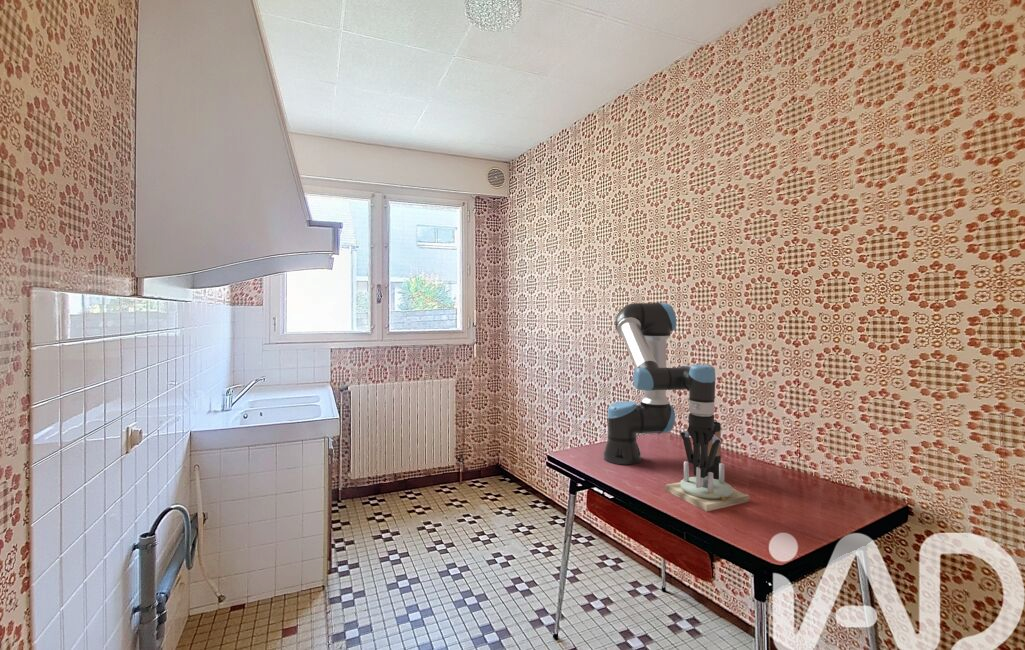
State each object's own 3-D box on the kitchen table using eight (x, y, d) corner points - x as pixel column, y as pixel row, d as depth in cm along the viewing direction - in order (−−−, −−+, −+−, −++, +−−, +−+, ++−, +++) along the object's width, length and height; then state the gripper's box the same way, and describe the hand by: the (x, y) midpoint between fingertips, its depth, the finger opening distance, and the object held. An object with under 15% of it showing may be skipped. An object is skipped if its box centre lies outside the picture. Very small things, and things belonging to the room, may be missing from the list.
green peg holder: (684, 496, 145) (684, 473, 145) (676, 478, 161) (676, 457, 161) (738, 500, 142) (739, 476, 142) (725, 481, 158) (725, 459, 158)
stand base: (665, 490, 156) (665, 481, 156) (705, 482, 163) (705, 473, 163) (707, 511, 140) (707, 501, 139) (749, 501, 146) (749, 492, 146)
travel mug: (723, 480, 165) (723, 425, 164) (700, 479, 166) (700, 424, 166) (718, 473, 172) (718, 420, 172) (696, 472, 174) (696, 420, 173)
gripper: (676, 412, 148) (675, 484, 149) (716, 419, 139) (714, 495, 139) (687, 408, 153) (685, 478, 154) (726, 415, 144) (724, 489, 145)
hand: (699, 486), depth 147 cm, fingers closed
